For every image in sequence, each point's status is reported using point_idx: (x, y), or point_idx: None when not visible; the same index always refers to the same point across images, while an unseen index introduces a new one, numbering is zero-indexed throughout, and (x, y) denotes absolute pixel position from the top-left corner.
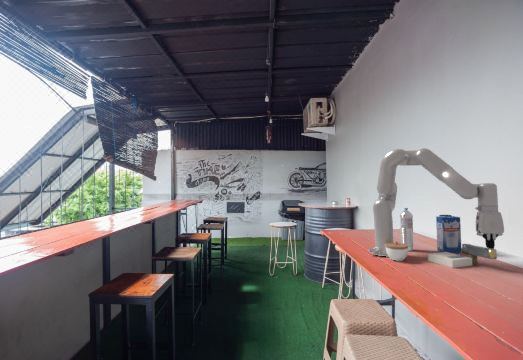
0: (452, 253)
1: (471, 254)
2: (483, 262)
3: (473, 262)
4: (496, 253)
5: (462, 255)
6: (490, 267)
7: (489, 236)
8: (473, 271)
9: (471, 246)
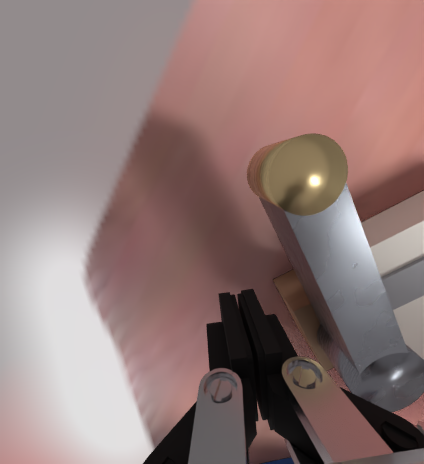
0: None
1: None
2: None
3: None
4: (265, 154)
5: None
6: (241, 220)
7: (313, 417)
8: (383, 113)
9: (396, 324)
